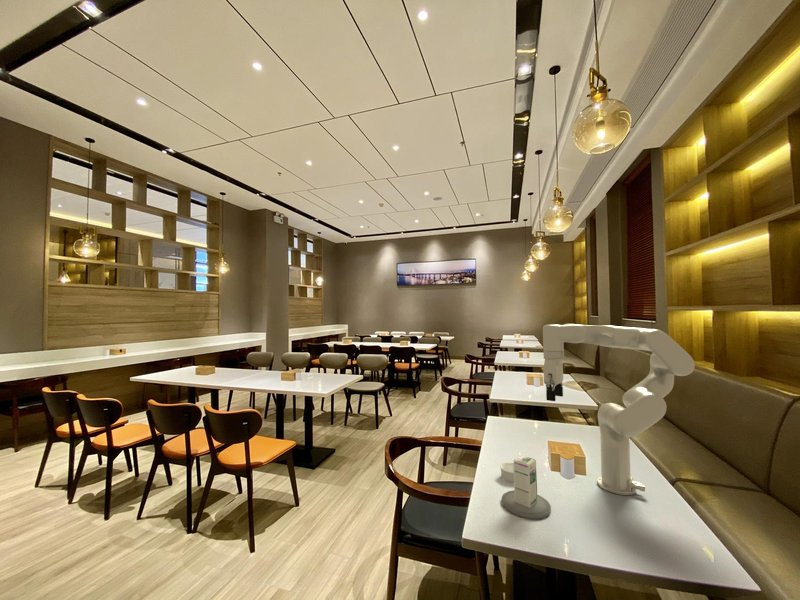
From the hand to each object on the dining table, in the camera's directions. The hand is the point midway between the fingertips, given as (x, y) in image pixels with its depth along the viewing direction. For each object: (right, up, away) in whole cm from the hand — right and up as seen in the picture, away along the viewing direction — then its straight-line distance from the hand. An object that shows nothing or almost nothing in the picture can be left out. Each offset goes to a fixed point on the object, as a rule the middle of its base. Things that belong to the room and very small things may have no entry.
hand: (554, 398), depth 132 cm
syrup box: (-18, -31, -17) cm, 40 cm away
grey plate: (-18, -32, -17) cm, 41 cm away
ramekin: (-16, -34, +3) cm, 38 cm away
